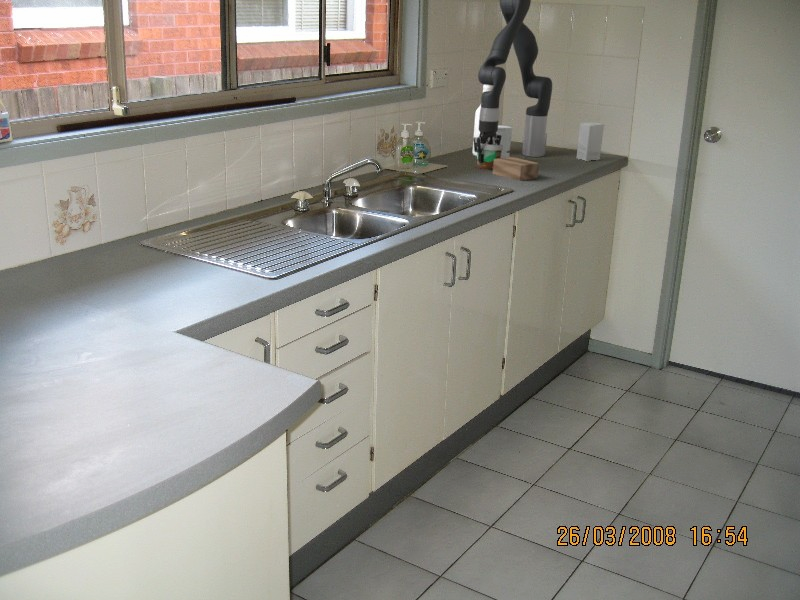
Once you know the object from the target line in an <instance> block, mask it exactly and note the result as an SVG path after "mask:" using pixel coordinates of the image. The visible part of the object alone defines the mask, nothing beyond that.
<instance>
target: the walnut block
mask: <svg viewBox="0 0 800 600" xmlns="http://www.w3.org/2000/svg"><path fill="white" fill-rule="evenodd" d="M539 166H540V165H539V162H535V161H531V160H527V159H522V158H518V157H514V156H509V157H506V158H499V159H494V163H493V170H492V175H495V174H496V176H499V175H500V177H503V176H504V178H507V177H508V179H511V180H515V181H518V180H519V182H520V181H521V180H522V181H527V179H528V180H534V179H538V175H539ZM522 181H521V182H522Z"/></svg>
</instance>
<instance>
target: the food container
mask: <svg viewBox="0 0 800 600" xmlns="http://www.w3.org/2000/svg"><path fill="white" fill-rule="evenodd" d="M480 145H481V150H482V148H483V150H484V162H483V163H479V162H478V153H477V156H476V162H477V163H476V165H477V167H476V168H478V169H480V168H481V169H480V170H485V169H489V170H488V171H493V163H494V159H499V158H501V152H502V150H503V145H487V144H486V146H485V148H484V145H485V144H481V143H480ZM477 149H478V147H477Z"/></svg>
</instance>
